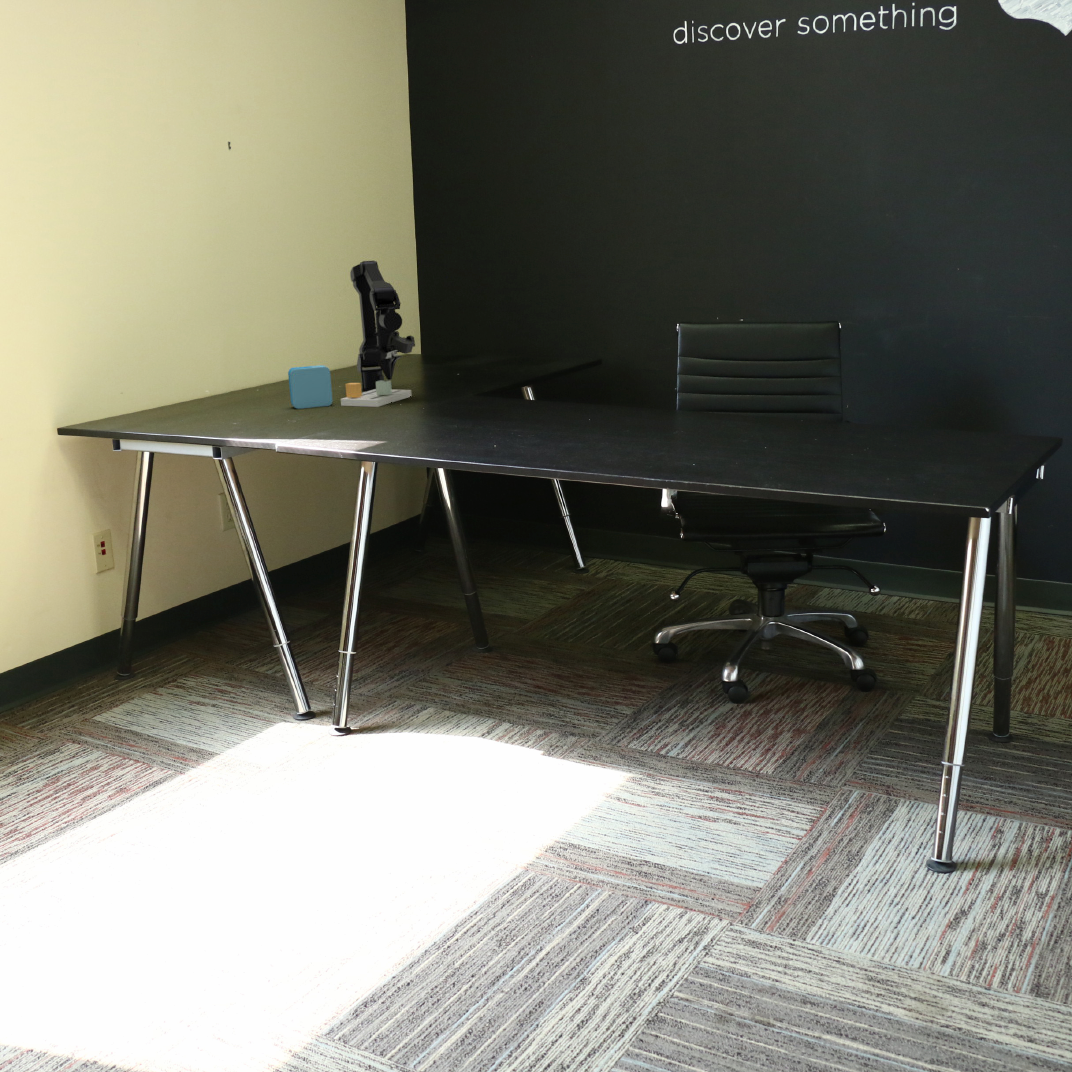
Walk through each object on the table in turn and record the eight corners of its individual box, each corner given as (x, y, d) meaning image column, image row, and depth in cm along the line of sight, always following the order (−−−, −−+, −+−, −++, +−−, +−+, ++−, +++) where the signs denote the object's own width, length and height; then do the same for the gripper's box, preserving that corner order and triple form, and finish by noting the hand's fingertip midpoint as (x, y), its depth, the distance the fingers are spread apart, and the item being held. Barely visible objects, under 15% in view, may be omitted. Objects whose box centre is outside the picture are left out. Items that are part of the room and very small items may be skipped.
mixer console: (341, 405, 356) (340, 398, 356) (376, 395, 374) (375, 388, 373) (377, 406, 351) (377, 399, 350) (411, 396, 368) (411, 389, 368)
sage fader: (376, 394, 359) (375, 381, 358) (381, 393, 362) (380, 380, 360) (386, 395, 357) (385, 382, 356) (391, 393, 360) (390, 380, 359)
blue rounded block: (330, 403, 361) (326, 364, 358) (333, 405, 357) (329, 366, 354) (291, 407, 357) (287, 367, 354) (293, 409, 353) (289, 369, 350)
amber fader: (346, 397, 357) (345, 384, 355) (352, 395, 359) (350, 382, 358) (356, 397, 355) (355, 384, 354) (362, 396, 358) (360, 383, 357)
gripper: (392, 332, 346) (396, 384, 350) (423, 325, 362) (427, 375, 366) (360, 331, 350) (364, 383, 354) (393, 325, 367) (396, 375, 371)
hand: (389, 379), depth 361 cm, fingers closed
